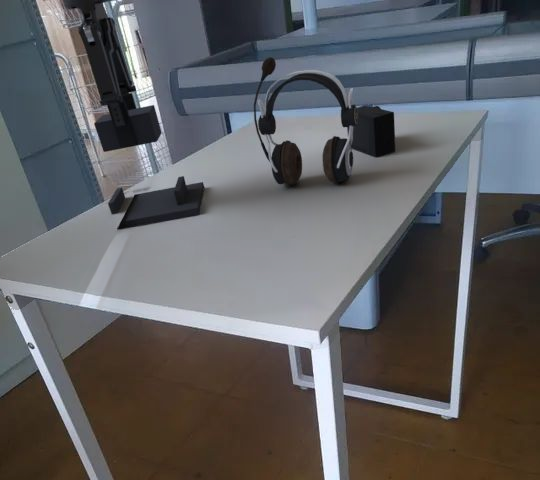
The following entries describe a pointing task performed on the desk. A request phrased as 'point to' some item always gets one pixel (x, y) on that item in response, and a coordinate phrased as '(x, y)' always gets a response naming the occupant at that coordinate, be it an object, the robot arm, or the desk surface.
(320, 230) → the desk surface
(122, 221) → the base pad
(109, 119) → the foam pad
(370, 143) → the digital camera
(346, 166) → the headset
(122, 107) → the robot arm
